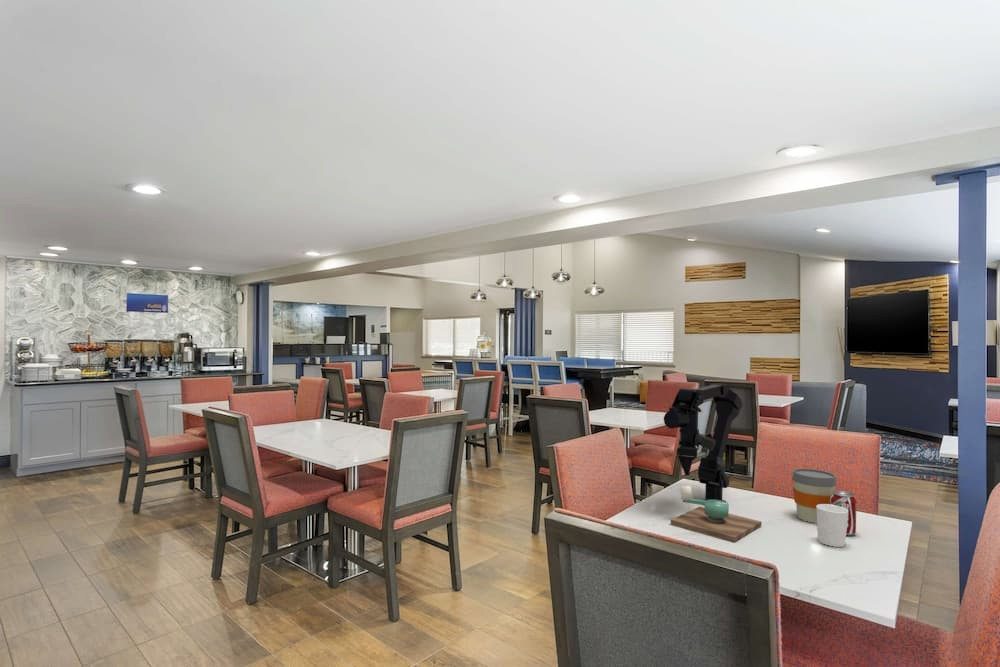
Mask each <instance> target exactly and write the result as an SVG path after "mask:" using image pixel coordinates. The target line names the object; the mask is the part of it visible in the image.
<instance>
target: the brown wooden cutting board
mask: <svg viewBox="0 0 1000 667" xmlns="http://www.w3.org/2000/svg"><path fill="white" fill-rule="evenodd" d="M704 507H705V506H701V505H700V506H697V507H696V508H694V509H691V510H689V511H686V512H684V513H682V514H680V515H677V516H675V517H674V518H671V519H670V525H671V526H675V527H678V528H682V529H685V530H689V531H693V532H696V533H701V534H704V535H707V536H710V537H715V538H717V539H721V540H726V541H728V542H732V543H737V542H739V541H740V540H742V539H744V538H745V537H747V536H748V535H750V534H753V532H755V531H757V530H758V529H759V528H762V526H763V525H762V521H761V520H757V519H753V518H748V517H746V516H745V517H744V516H740V515H736V514H733V513H729V514H728V517H726V518H716V517H711V516H708V515H706V514H705V513H704Z"/></svg>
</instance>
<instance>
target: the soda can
mask: <svg viewBox="0 0 1000 667" xmlns="http://www.w3.org/2000/svg"><path fill="white" fill-rule="evenodd" d="M830 505H836V506H840V507H843V508H845V509H847V510H848V522H847V532H846V535H851V536H853V535H855V534H856V533H857V500H856V498H855V494H854V493H852V492H849V491H844V490H834V491H833V495H832V496H831V497H830Z"/></svg>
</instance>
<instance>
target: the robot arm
mask: <svg viewBox="0 0 1000 667" xmlns="http://www.w3.org/2000/svg"><path fill="white" fill-rule="evenodd" d="M710 399H712V401H713V403H714V404H715V406H714V407H715V408H714V409H715V412H716V415H717V419H716V422H715V427H714V430H713V434H712V433H709V432H707V433H706V434H702V433H700V429H699V413H702V409H701V408H700V407H699V406H701V405H702V404H704V401H706V400H710ZM742 407H743V400H742V399H741V398H740V397H739V395H738V394H737V393H736V392H734V391H733V390H732V389H730V387H729V386H728V385H727V384H725V383H717V382H716V383H712V384H709V385H706V386H701V387H698V388H697V387H696V388H689V387H688V388H686V387H682V388H679V389H678V392H677V394H676V396H675V397H674V399H673V402H672V405H671V406H670V407H669V409H668V411H666V412H665V414H664V417H663V422H664V426H666V427H667V428H669V429H672V430H673V429H678V428H679V441H678V444H679V445H678V446H677V448H676V455H677V458H678V460H679V463H680V464H681V467H682V470H683V473H684V475H685V476H690V472H691V468H692V464H693V461H694V460H695V459H697V457H698V451H699V449H700V446H701V447H704V448H706V449H707V450H709V451H708V452H707V455H706V456H705V457H703V456H702V457H701V458H700V462H699V465H698V468H697V474H698V480H699V483H700V484H704V485H705V486H704V488H705V491H704V492H705V494H704V495H705V496H704V498H703V499H702V500H704V501H705V500H720V501H724V502H727V501H726V499H725V500H724V499H723V491H724V490H723V489H727V488H728V487H729V486H730V479H729V478H728V476H727V474H726V473H725V472H726V466H725V463H724V460H723V459H724V455H725V450H726V447H727V442H728V439H729V438H728V437H729V434H730V430H731V426H732V423H733V421H734V420H735V419H736V418H737V417H738V416H739V414H740V412H741V409H742Z"/></svg>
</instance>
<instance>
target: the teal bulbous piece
mask: <svg viewBox="0 0 1000 667" xmlns="http://www.w3.org/2000/svg"><path fill="white" fill-rule="evenodd" d="M680 495H681V498H680V499H682V503H685V504H693V505H700V506H701V505H702V506H703V507H704V513H705V514H706V515H708V516H711V517H716V518H726V517H728V514H730V513H729V511H730V510H729V508H730V507H729V506H730V505H729V503H728V502H727V501H726V502H724V501H720V500H705V501H704V500H703V499H694V498H692V485H688V484H682V485H681V494H680Z"/></svg>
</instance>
